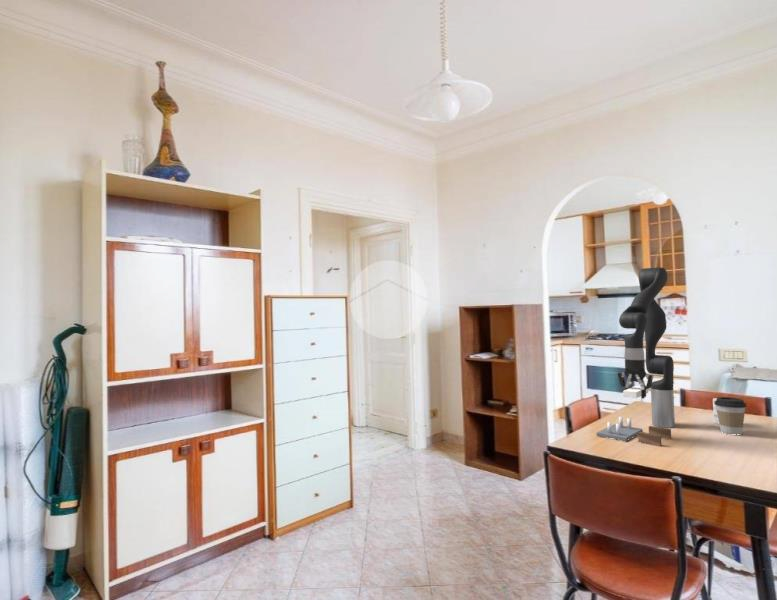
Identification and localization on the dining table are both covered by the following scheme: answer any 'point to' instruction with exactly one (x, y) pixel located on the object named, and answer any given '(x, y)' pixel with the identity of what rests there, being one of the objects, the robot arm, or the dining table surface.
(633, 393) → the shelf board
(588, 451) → the dining table surface
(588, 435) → the dining table surface
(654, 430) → the rails
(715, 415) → the ink box
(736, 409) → the coffee cup
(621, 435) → the peg rack
